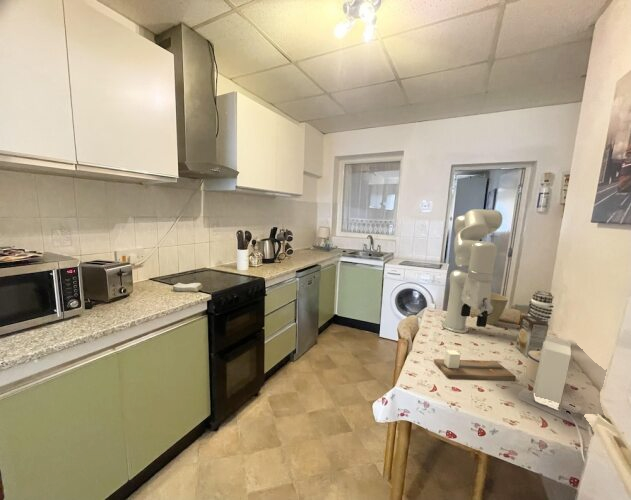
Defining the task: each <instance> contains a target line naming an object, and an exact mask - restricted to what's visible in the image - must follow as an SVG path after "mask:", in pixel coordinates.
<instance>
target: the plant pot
mask: <svg viewBox="0 0 631 500" xmlns="http://www.w3.org/2000/svg"><path fill="white" fill-rule="evenodd" d="M508 300H509V298H508V297H506V296H503V295H502V294H498V293H493V292H491V298H490V304H491V305H492V307H493V310H492V312H491V314H490V315H489V317H487V322H486V325H493V326H494V325H496V324H497V322H498V321H499V319H500V318H501V316H502V314H503V313H504V311H505V309H506V307H507V304H508ZM483 311H484V310H482V312H483Z"/></svg>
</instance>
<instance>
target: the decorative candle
mask: <svg viewBox="0 0 631 500" xmlns="http://www.w3.org/2000/svg"><path fill="white" fill-rule="evenodd" d="M554 298H555V296H553V295H552V293H551V292H548V291H545V290H536V291H533V292H532V298H531V300H530V301H529V302H528V303H529V304H528V312H527V316H532V317H537V318H539V319H540V320H542V321H543V322H545V323H547V324H548V325H549V321H551V320H550V319H551V316H550V315H552V312H553V309H552V308H554V305H553V301H554V300H553V299H554Z"/></svg>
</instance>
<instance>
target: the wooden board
mask: <svg viewBox="0 0 631 500" xmlns="http://www.w3.org/2000/svg"><path fill="white" fill-rule="evenodd" d="M444 360H445V358H444V359H443V358H441V359H440V358H439V359H438V358H434V359H433V364H434V365H435V366H436V367H437V368H438V369H439V370H440V371H441V372H442V374H443V375H444V376H445V377H446V378H447V379H455V380H457V379H462V380H465V379H466V380H468V379H469V380H492V379H494V380H498V381H502V380H503V381H516V378H517V376H516V375H515V374H514V373H512V371H510V370H508V368H506V367H504V366H503V365H502V364H500V363H499V362H498V361H497V360H474V359H473V360H471V359H460V362H459V368H448V367H447V366H446V365H445V364H444Z"/></svg>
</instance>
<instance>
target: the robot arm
mask: <svg viewBox="0 0 631 500" xmlns="http://www.w3.org/2000/svg"><path fill="white" fill-rule="evenodd" d="M502 224H503V214H502V213H501V211H499V210H496V209H482V208H477V209H474V208H473V209H470V210H469V211H467V212H466V213H465V214H463V215H462V214H461V215H459V216H456V218H455V220H454V230H455V231H454V232H455V234H456V235H455V237H454V242H453V243H454V244H453V246H454V247H453V249H454V251H453V252H454V254H455V259H454V260H455V261H454V263H455V265H456V266H457V267H459V268H464V269H467V270H464V269H455V270H452V271H451V272H450V274H449V294H448V302H447V306H446V307H447V308H446V314H445V315H444V316H443V318H444V321H442V322H441V326H442V328H444V329H445V330H448V331H450V332H453V333H457V334H458V333H459V334H466V333H469V328H468V327H467V326H466V323H467V317H470V316H471V315H470V314H471V310H472V309H474V310H477V312H478V315H477V317H476V322H475V323H476V324H475V326H476V327H478V328H486V327H487V324H486V322H487V317H489V315H490V314H491V312H492V310H493V307H492V305H491V304H490V298H491V293H492V279H493V274H494V267H495V261H496V257H497V254H498V247H497V245H496V244H495V243H493V242H491V241H482V240H483V239H484V238H486V237H487V236H488V235H491V234H493V233H495V232H496V231H498V230H499V229H500V227H501V226H502ZM471 308H472V309H471ZM482 310H484V311H483V312H482Z"/></svg>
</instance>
